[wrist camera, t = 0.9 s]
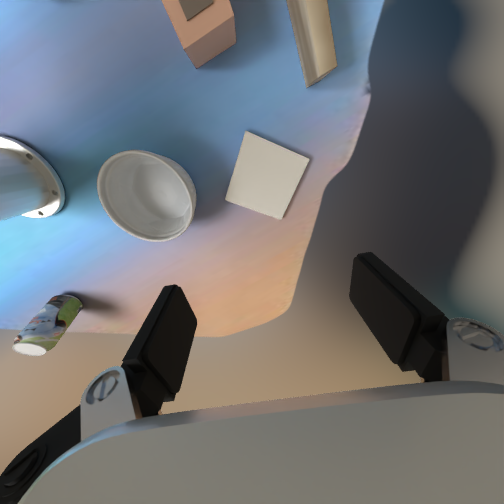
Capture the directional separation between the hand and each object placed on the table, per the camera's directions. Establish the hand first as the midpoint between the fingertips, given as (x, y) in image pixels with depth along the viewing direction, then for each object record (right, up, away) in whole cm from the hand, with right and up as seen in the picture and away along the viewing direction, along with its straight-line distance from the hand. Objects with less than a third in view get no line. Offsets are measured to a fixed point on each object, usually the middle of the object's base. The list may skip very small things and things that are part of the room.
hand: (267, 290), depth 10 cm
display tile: (+1, +15, +22) cm, 26 cm away
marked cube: (-7, +30, +13) cm, 33 cm away
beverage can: (-44, -10, +35) cm, 57 cm away
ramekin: (-16, +13, +23) cm, 31 cm away
